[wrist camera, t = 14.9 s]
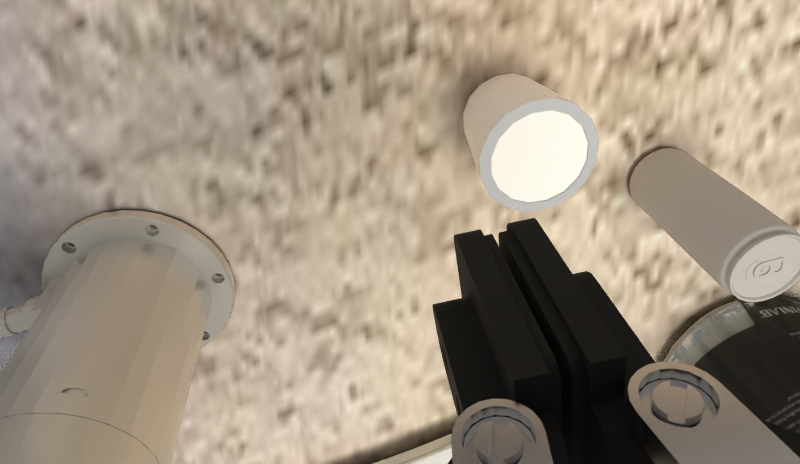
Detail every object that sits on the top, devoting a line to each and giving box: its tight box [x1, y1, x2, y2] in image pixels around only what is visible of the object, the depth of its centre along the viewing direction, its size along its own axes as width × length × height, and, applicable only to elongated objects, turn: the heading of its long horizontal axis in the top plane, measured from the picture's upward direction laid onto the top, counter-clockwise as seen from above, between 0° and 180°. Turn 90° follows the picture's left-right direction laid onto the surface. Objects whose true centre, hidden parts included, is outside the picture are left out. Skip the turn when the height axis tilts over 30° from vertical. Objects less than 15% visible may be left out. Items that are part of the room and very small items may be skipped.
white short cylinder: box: [463, 73, 599, 212], centre depth 34 cm, size 7×7×7 cm
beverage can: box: [629, 148, 800, 302], centre depth 36 cm, size 5×5×12 cm
